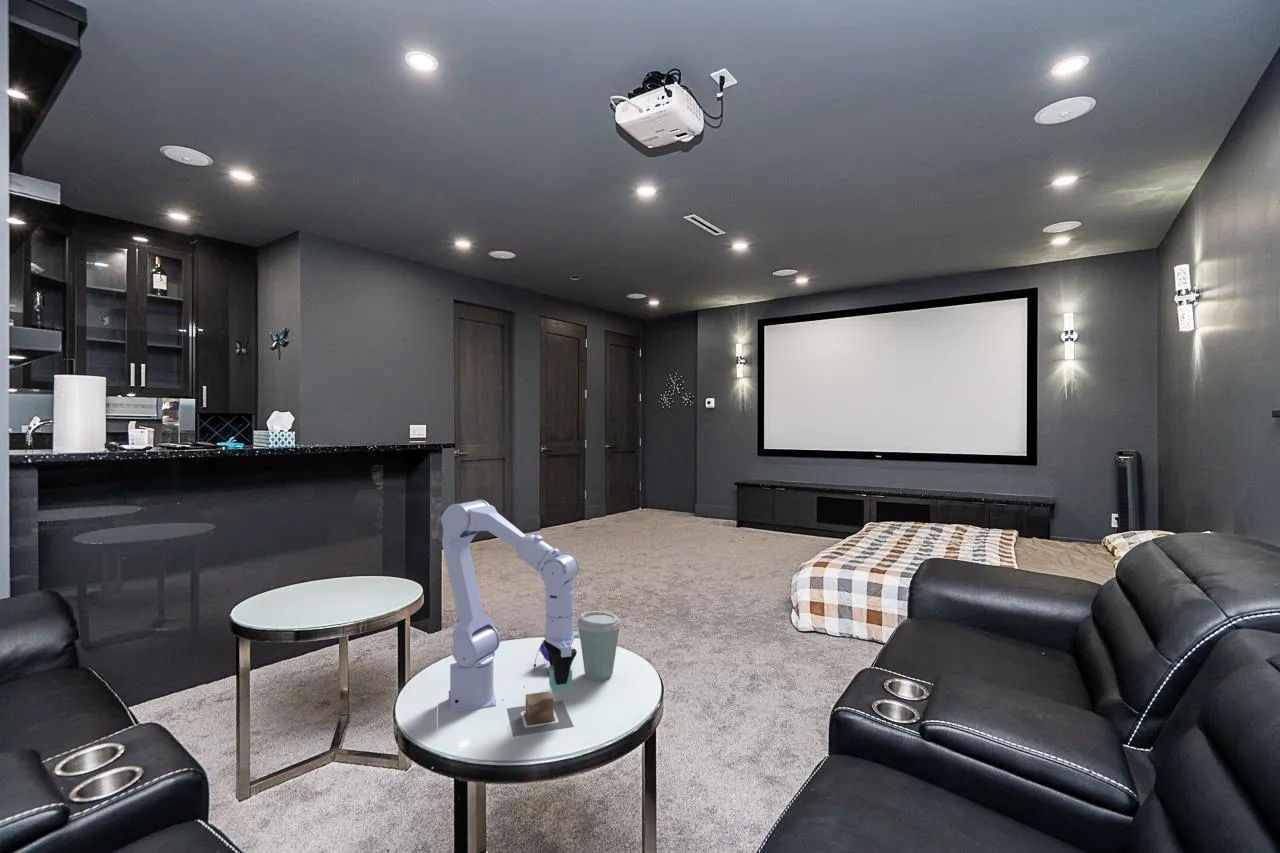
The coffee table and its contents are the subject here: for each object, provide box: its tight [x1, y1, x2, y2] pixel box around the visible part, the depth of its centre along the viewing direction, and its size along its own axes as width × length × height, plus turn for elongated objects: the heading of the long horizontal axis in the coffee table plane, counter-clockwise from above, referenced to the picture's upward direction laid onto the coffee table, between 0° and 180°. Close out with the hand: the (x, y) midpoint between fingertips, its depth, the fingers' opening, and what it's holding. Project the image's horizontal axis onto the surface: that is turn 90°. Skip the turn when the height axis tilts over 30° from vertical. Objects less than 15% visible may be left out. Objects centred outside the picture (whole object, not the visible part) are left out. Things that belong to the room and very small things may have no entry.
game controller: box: [533, 641, 549, 676], centre depth 149 cm, size 10×8×10 cm
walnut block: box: [525, 690, 555, 725], centre depth 122 cm, size 5×5×4 cm
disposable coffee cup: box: [577, 610, 621, 681], centre depth 143 cm, size 11×11×15 cm
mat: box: [506, 699, 574, 737], centre depth 122 cm, size 12×12×1 cm
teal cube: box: [548, 664, 573, 693], centre depth 122 cm, size 4×4×4 cm
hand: (559, 678), depth 122 cm, fingers closed on teal cube, 4 cm apart
